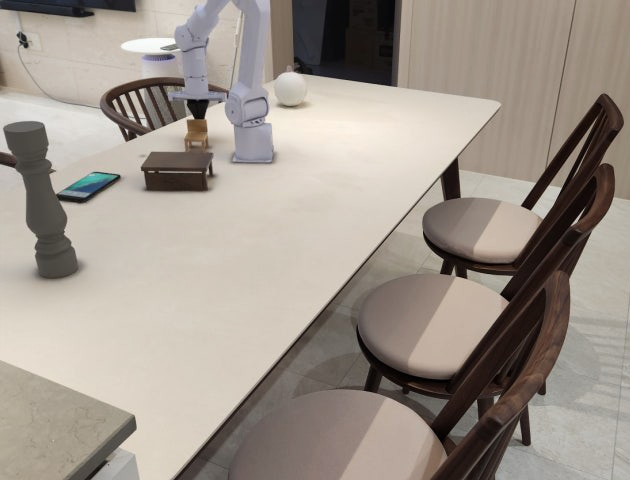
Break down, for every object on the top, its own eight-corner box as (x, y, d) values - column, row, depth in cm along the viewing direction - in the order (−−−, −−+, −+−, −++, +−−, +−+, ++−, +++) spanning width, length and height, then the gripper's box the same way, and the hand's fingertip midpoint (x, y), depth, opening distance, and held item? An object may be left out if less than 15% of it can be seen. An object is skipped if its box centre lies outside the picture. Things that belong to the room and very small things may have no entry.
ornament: (279, 99, 207) (278, 61, 201) (310, 102, 206) (309, 64, 200) (271, 108, 199) (269, 68, 192) (303, 110, 198) (302, 71, 191)
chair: (209, 145, 166) (206, 119, 162) (205, 153, 161) (202, 126, 157) (189, 145, 166) (186, 119, 162) (185, 153, 160) (182, 126, 157)
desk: (215, 174, 149) (213, 152, 146) (208, 191, 141) (206, 167, 138) (154, 174, 148) (151, 151, 145) (144, 190, 140) (140, 167, 137)
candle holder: (46, 260, 111) (10, 120, 99) (83, 260, 112) (52, 120, 99) (33, 278, 106) (-7, 132, 93) (72, 278, 107) (37, 132, 94)
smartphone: (52, 195, 133) (94, 170, 146) (53, 199, 134) (94, 174, 146) (82, 199, 132) (122, 174, 145) (83, 203, 132) (122, 177, 145)
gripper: (226, 72, 165) (230, 124, 172) (169, 71, 164) (176, 123, 171) (222, 79, 159) (227, 132, 166) (163, 77, 158) (170, 131, 164)
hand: (200, 128), depth 168 cm, fingers closed
